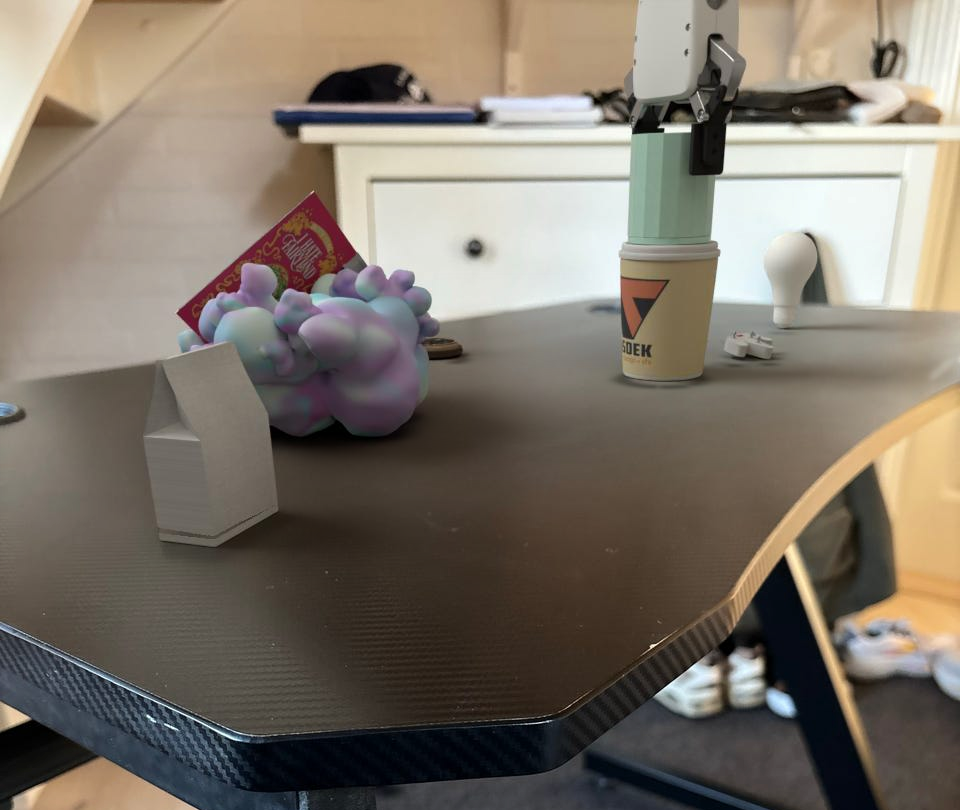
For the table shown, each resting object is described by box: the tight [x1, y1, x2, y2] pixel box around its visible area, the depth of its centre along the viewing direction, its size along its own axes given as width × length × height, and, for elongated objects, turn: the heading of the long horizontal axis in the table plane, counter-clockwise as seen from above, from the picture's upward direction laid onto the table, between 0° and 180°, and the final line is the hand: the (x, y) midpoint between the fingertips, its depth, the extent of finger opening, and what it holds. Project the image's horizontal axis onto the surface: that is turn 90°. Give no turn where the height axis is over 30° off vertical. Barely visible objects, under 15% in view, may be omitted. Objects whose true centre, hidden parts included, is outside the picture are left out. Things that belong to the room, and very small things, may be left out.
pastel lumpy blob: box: [175, 190, 441, 438], centre depth 79 cm, size 20×22×18 cm
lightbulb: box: [763, 231, 818, 329], centre depth 121 cm, size 6×6×11 cm
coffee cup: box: [618, 239, 722, 382], centre depth 96 cm, size 9×9×12 cm
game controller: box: [714, 330, 774, 360], centre depth 107 cm, size 6×12×3 cm, turn 61°
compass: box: [420, 337, 464, 359], centre depth 110 cm, size 8×8×7 cm
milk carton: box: [142, 341, 279, 548], centre depth 57 cm, size 4×7×10 cm, turn 160°
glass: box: [626, 131, 717, 245], centre depth 91 cm, size 8×8×9 cm
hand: (674, 175), depth 91 cm, fingers open, 9 cm apart
